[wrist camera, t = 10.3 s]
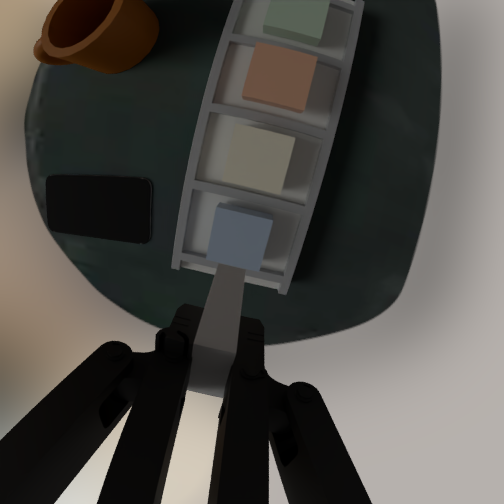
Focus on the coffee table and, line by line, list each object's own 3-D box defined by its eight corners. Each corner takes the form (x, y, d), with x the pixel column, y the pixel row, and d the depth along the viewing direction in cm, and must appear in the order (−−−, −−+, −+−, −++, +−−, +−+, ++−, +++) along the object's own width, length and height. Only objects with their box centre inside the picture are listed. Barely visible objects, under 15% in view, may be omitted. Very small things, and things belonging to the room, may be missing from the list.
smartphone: (149, 245, 29) (48, 231, 28) (151, 243, 29) (51, 229, 29) (151, 178, 26) (45, 174, 26) (153, 177, 27) (48, 173, 26)
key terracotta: (256, 49, 18) (256, 41, 17) (313, 63, 19) (317, 57, 17) (242, 99, 20) (241, 95, 18) (300, 113, 21) (304, 110, 19)
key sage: (274, -5, 17) (275, -15, 15) (325, 8, 17) (330, -1, 15) (262, 33, 19) (262, 24, 17) (316, 46, 19) (320, 39, 17)
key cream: (237, 125, 22) (235, 123, 20) (292, 138, 22) (295, 137, 20) (224, 178, 24) (221, 181, 22) (278, 191, 24) (280, 195, 22)
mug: (74, 25, 19) (30, 5, 10) (164, 0, 19) (134, -40, 10) (64, 88, 22) (12, 80, 14) (155, 67, 22) (115, 40, 14)
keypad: (244, -17, 18) (243, -30, 15) (357, 12, 19) (366, 2, 16) (176, 256, 29) (169, 267, 27) (285, 282, 30) (288, 295, 27)
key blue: (219, 202, 25) (216, 206, 23) (272, 214, 25) (273, 220, 23) (209, 251, 26) (205, 259, 24) (259, 262, 27) (259, 271, 25)
